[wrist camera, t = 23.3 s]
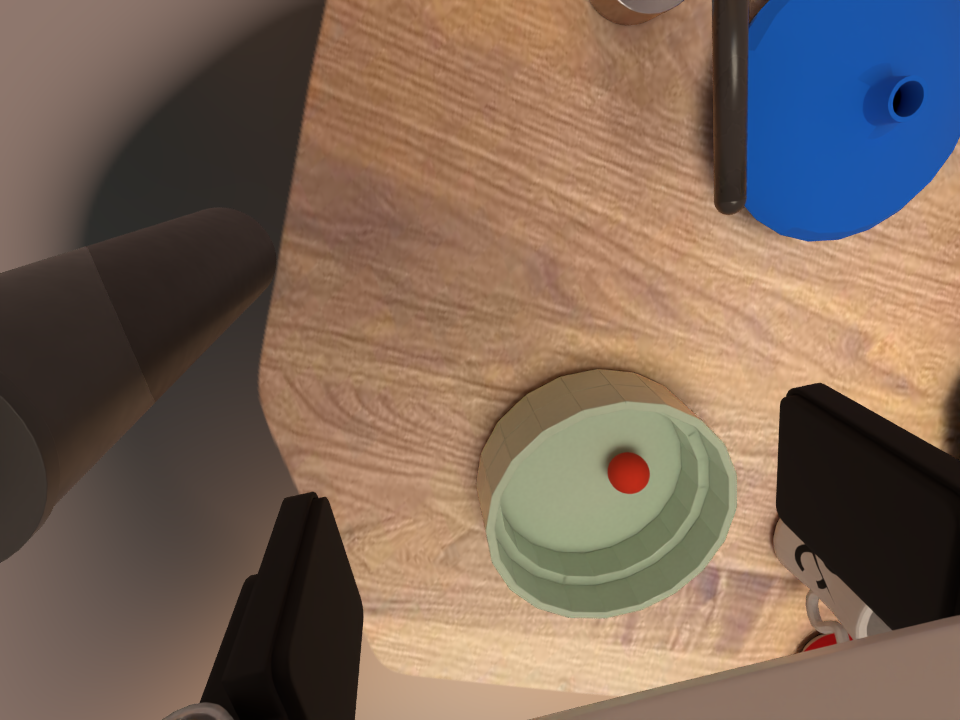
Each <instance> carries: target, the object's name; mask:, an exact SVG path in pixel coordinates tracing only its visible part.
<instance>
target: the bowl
mask: <svg viewBox="0 0 960 720" xmlns="http://www.w3.org/2000/svg"><path fill="white" fill-rule="evenodd" d="M624 452H631V453H635V454H637V455H639V456H641V457H642V458H643V459H644V460H645V461H646V463H647V464H648V467H649V470H650V478H649V481H648V484H647V485H646V487H645V488H644V489H643V490H641V491H640V492H638V493H634V494H625V493H622V492H620V491H618V490H616V489H615V488H614V487H613V486H612V484H611V483H610V481H609V479H608V466H609V463H610V462H611V460H612V459H613V458H614V457H615V456H616V455H618V454H621V453H624ZM476 488H477V493H478V498H479V502H480V507H481V512H482V517H483V522H484V527H485V531H486V536H487V541H488V546H489V551H490V555H491V560H492V563H493V565H494V566H495V568H496V569H497V571H498V572H499V574H500V575H501V577H502V578H503V580H504V581H505V583H506V584H507V586H508V587H509V589H510V590H511V591H513V592H514V593H516V594H517V595H519V596H520V597H521V598H523V599H524V600H526V601H527V602H529V603H530V604H531V605H533V606H534V607H536V608H538V609H541V610H545V611H548V612H551V613H555V614H558V615H561V616H565V617H568V618H610V617H614V616H618V615H623V614H627V613H631V612H635V611H640V610H643V609H645V608H647V607H649V606H651V605H653V604H655V603H657V602H659V601H661V600H663V599H665V598H667V597H669V596H671V595H673V594H675V593H676V592H678V591H679V590H680V589H681V588H682V587H684V586H685V585H686V584H687V583H688V582H690V581H691V580H692V579H693V578H694V577H696V576H697V575H698V574H699V573H700V572H702V571H703V569H705V567H706V566H707V565H708V563H709V562H710V560H711V559H712V558H713V556H714V555H715V554H716V552H717V551H718V549H719V548H720V547H721V545H722V544H723V543H724V541H725V539H726V536H727V534H728V531H729V528H730V525H731V522H732V520H733V517H734V514H735V511H736V508H737V473H736V471H735V468H734V466H733V463H732V461H731V458H730V456H729V453H728V451H727V448H726V446H725V444H724V443H723V442H722V441H721V439H720V438H719V437H718V436H717V435H716V434H715V433H714V432H713V431H712V430H711V429H710V428H709V427H708V426H707V425H706V424H705V423H704V422H703V421H702V420H701V419H700V418H699V417H697V416H696V415H695V414H694V413H693V412H692V411H691V410H690V409H689V408H688V407H687V406H686V405H684V404H683V403H682V402H681V401H680V400H679V399H678V398H677V397H676V396H675V395H674V394H673V393H671V392H670V391H669V390H668V389H667V388H666V387H665V386H663V385H661V384H659V383H657V382H654V381H652V380H650V379H648V378H645V377H643V376H641V375H639V374H637V373H633V372H624V371H613V370H603V369H595V370H590V371H585V372H580V373H576V374H571V375H566V376H561V377H558V378H557V379H555V380H553V381H551V382H549V383H547V384H545V385H543V386H541V387H540V388H538V389H536V390H534V391H532V392H530V393H528V394H526V396H524V397H523V398H522V399H521V400H520V401H519V402H518V403H517V404H516V405H515V406H514V407H513V408H512V409H511V410H510V411H509V412H508V413H507V414H506V415H504V416H503V417H502V418H501V419H500V420H499V422H498V423H497V424H496V426H495V428H494V430H493V432H492V434H491V435H490V437H489V439H488V441H487V443H486V445H485V446H484V448H483V450H482V453H481V457H480V463H479V469H478V475H477V481H476Z"/></svg>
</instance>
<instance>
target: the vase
mask: <svg viewBox="0 0 960 720" xmlns="http://www.w3.org/2000/svg"><path fill="white" fill-rule="evenodd" d="M959 137H960V0H769V1H768V2H767V3H766V4H765V5H764V7H763V8H762V9H761V10H760V11H759V12H758V13H757V15H756V16H755V17H754V18H753V19H752V21H751V23H750V24H749V41H748V136H747V201H746V204H745V207H746V209H747V210H748V211H749V212H750V213H751V215H752V216H753V217H754V218H755V219H756V220H758V221H759V222H761V223H763V224H764V225H766V226H767V227H769V228H771V229H772V230H774V231H775V232H777V233H779V234H780V235H784V236H788V237H792V238H796V239H800V240H805V241H824V240H839V239H842V238H845V237H848V236H851V235H854V234H857V233H860V232H863V231H866V230H869V229H871V228H872V227H874V226H876V225H877V224H879V223H881V222H882V221H884V220H885V219H887V218H889V217H890V216H892V215H894V214H895V213H897V212H898V211H900V210H901V209H902V208H903V207H904V206H905V205H906V204H907V203H908V202H909V201H910V200H911V199H913V198H914V197H915V196H916V195H917V194H918V193H919V192H920V191H921V190H922V189H923V188H924V187H925V186H926V185H927V184H928V183H930V182H931V181H932V179H933V178H934V176H935V175H936V174H937V172H938V171H939V170H940V168H941V167H942V165H943V164H944V163H945V161H946V160H947V159H948V157H949V156H950V154H951V153H952V152H953V150H954V148H955V146H956V144H957V142H958V139H959Z"/></svg>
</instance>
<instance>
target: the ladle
mask: <svg viewBox="0 0 960 720" xmlns="http://www.w3.org/2000/svg"><path fill="white" fill-rule="evenodd" d="M589 1H590V2H591V4H592V5H593V7H594V8H595V9H596V10H597V11H598V12H599V13H600V14H601V15H602V16H603V17H605V18H606V19H608V20H610V21H612V22H614V23H617V24H621V25H637V24H641V23H644V22H647V21H649V20H651V19H653V18H655V17H657V16H659V15H661V14H663V13H665V12H667V11H668V10H670V9H672V8H674V7H676V6H677V5H679V4H680V3H681V2H683V1H684V0H589ZM748 41H749V0H712V46H713V136H714V203H715V207H716V209H717V210H718V211H719V212H721V213H722V214H725V215H732V214H735V213H737V212H739V211H740V210H742V208H743V207H744V206H745V204H746V201H747V136H748Z"/></svg>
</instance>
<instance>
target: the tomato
mask: <svg viewBox="0 0 960 720" xmlns="http://www.w3.org/2000/svg"><path fill="white" fill-rule="evenodd" d="M649 478H650V470H649V467H648V464H647V463H646V461H645V460H644V459H643V458H642V457H641V456H639V455H637V454H635V453H631V452H624V453H621V454H618V455H616V456H615V457H614V458H613V459H612V460H611V462H610V463H609V466H608V479H609V481H610V483H611V484H612V486H613V487H614V488H615V489H616V490H618V491H620V492H622V493H625V494H634V493H638V492H640V491H641V490H643V489H644V488H645V487H646V485H647V484H648V481H649Z"/></svg>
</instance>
